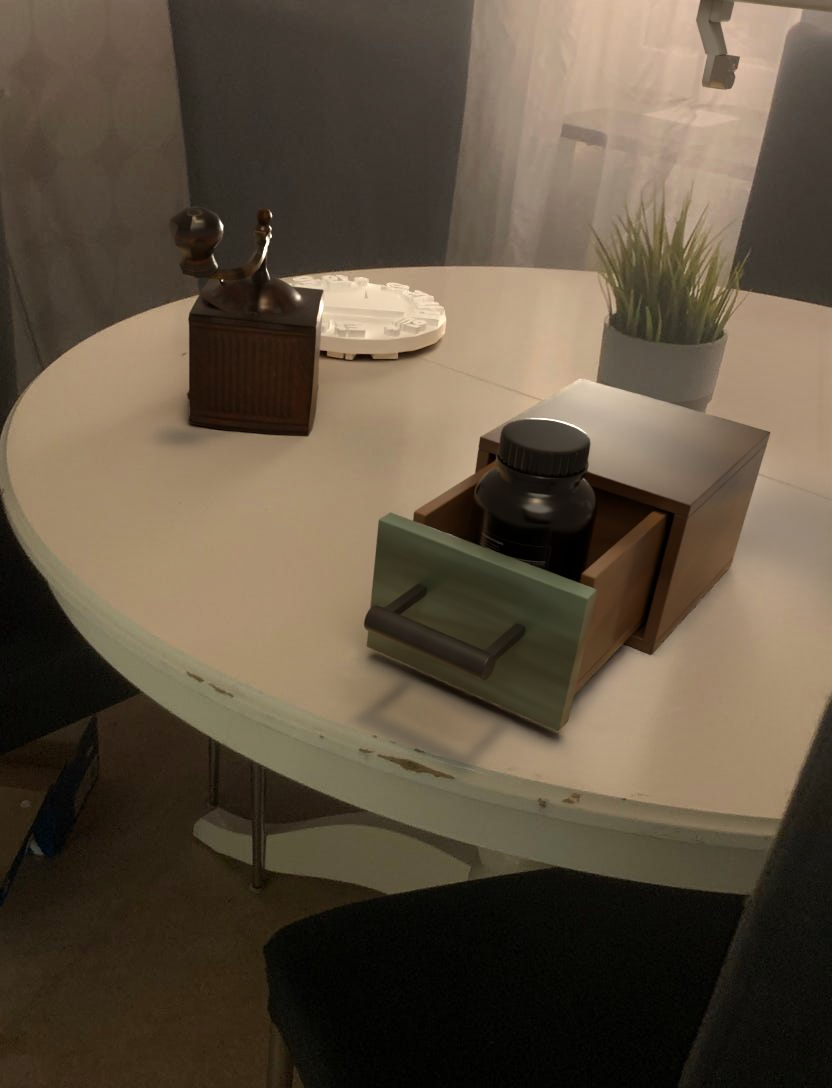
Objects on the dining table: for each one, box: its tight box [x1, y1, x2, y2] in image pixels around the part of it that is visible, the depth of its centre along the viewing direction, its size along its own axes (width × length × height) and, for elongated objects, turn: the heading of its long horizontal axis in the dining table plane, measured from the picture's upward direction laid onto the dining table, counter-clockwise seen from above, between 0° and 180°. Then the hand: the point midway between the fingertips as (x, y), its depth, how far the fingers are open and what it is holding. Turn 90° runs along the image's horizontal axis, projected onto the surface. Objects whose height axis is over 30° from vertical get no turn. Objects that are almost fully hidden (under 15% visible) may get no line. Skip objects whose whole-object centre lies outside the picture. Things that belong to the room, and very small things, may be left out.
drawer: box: [363, 460, 673, 732], centre depth 63 cm, size 18×12×8 cm
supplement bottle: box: [468, 418, 598, 583], centre depth 63 cm, size 7×7×12 cm
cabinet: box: [474, 377, 771, 655], centre depth 73 cm, size 15×14×10 cm
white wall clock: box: [288, 274, 447, 361], centre depth 115 cm, size 20×20×3 cm
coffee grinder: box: [168, 205, 324, 436], centre depth 89 cm, size 16×11×18 cm
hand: (793, 99), depth 66 cm, fingers open, 8 cm apart
